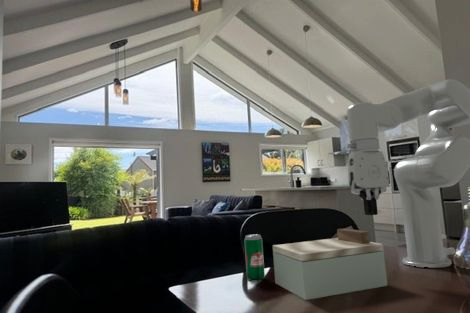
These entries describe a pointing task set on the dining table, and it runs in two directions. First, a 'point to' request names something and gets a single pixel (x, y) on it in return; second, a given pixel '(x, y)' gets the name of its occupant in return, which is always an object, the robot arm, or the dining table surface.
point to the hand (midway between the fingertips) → (371, 214)
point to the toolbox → (330, 274)
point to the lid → (330, 246)
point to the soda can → (254, 257)
